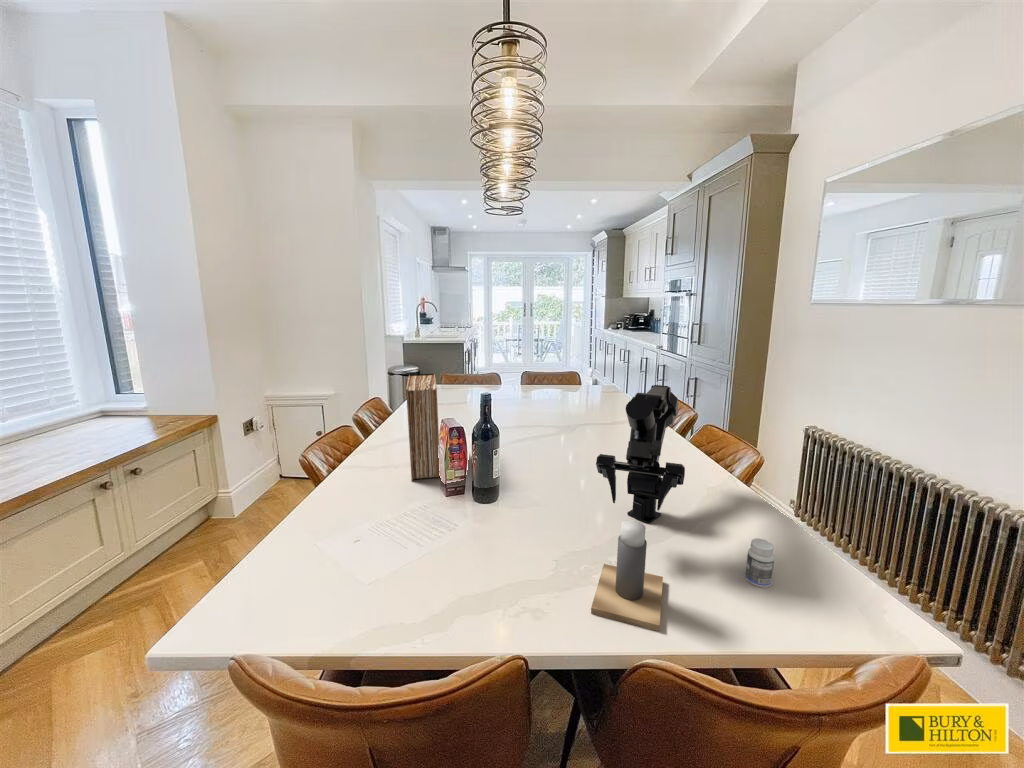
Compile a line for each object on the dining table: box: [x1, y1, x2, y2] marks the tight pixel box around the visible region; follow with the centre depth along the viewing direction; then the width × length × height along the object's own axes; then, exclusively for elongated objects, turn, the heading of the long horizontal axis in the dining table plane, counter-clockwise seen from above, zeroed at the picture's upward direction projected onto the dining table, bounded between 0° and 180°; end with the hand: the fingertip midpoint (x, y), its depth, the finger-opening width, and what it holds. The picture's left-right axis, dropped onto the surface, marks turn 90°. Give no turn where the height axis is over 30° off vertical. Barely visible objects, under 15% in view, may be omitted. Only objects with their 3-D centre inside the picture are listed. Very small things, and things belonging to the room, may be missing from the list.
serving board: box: [590, 563, 664, 632], centre depth 83 cm, size 14×12×1 cm
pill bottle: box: [744, 538, 776, 588], centre depth 87 cm, size 5×5×8 cm
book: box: [405, 373, 440, 482], centre depth 145 cm, size 25×9×30 cm, turn 11°
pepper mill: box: [615, 519, 648, 601], centre depth 81 cm, size 5×5×14 cm
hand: (635, 506), depth 91 cm, fingers open, 9 cm apart
